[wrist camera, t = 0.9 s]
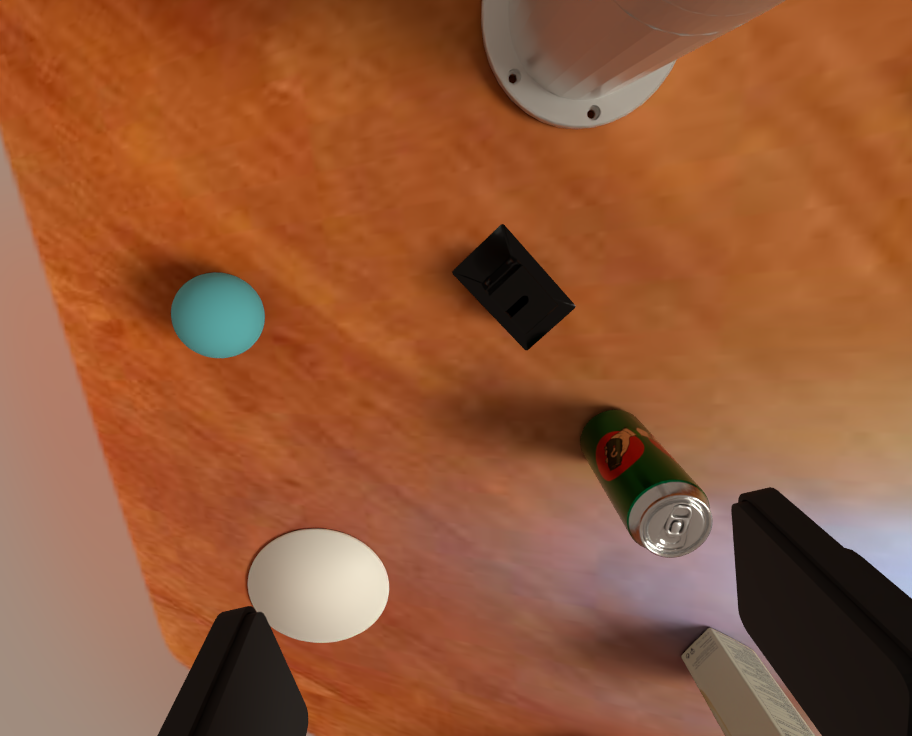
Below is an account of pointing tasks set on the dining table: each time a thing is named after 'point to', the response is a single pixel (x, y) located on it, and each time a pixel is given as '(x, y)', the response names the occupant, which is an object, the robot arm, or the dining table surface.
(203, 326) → the ball
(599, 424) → the soda can
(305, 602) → the white rounded object
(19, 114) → the dining table surface
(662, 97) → the dining table surface
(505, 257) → the black box
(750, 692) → the skincare box
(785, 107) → the dining table surface
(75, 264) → the dining table surface
